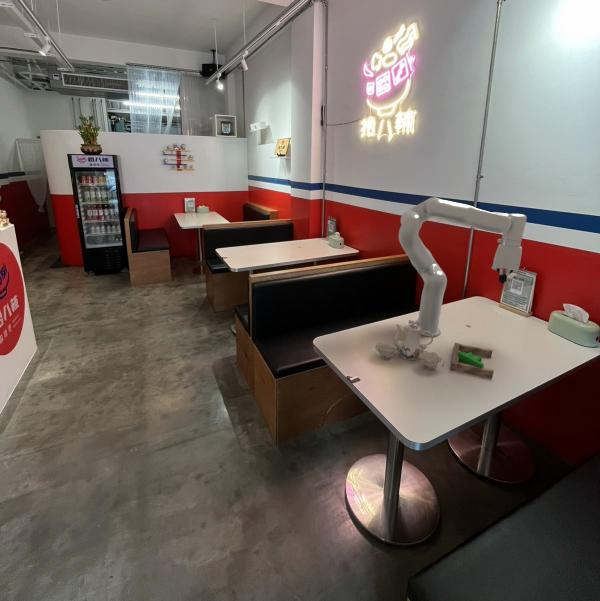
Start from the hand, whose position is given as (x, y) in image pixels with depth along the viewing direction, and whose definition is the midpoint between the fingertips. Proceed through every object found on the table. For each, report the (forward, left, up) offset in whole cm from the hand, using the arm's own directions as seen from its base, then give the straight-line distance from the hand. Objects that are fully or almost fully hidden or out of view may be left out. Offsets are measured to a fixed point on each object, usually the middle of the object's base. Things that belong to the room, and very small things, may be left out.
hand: (501, 282), depth 166 cm
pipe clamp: (-7, -34, -27) cm, 44 cm away
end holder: (-8, -31, -27) cm, 42 cm away
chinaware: (-32, -39, -28) cm, 58 cm away
